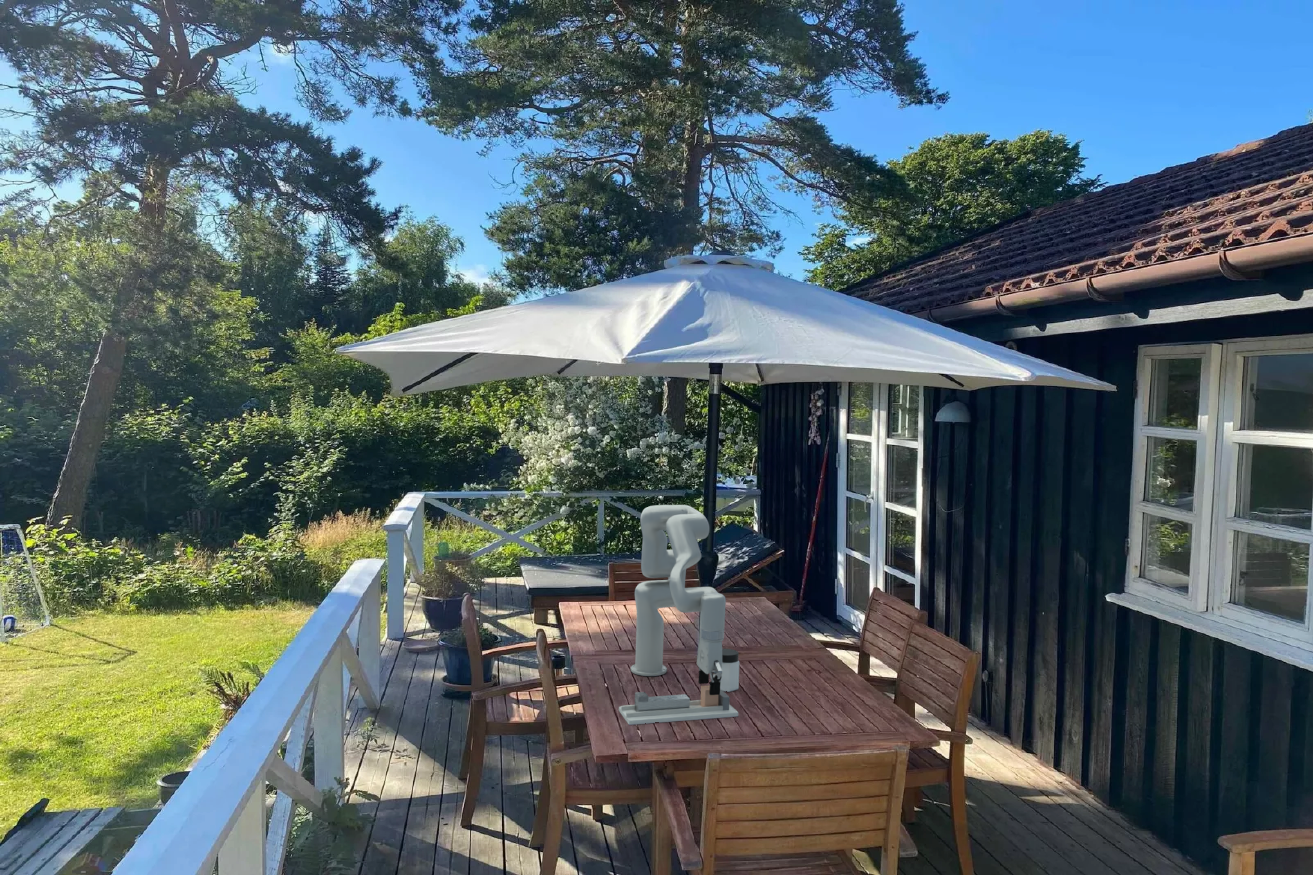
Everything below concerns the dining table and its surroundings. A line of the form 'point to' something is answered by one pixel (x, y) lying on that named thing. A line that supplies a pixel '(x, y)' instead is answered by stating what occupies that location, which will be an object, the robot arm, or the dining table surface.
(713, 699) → the block
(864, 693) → the dining table surface
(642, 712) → the grey slide rail track
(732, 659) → the jar
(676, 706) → the grey sliding carriage block
